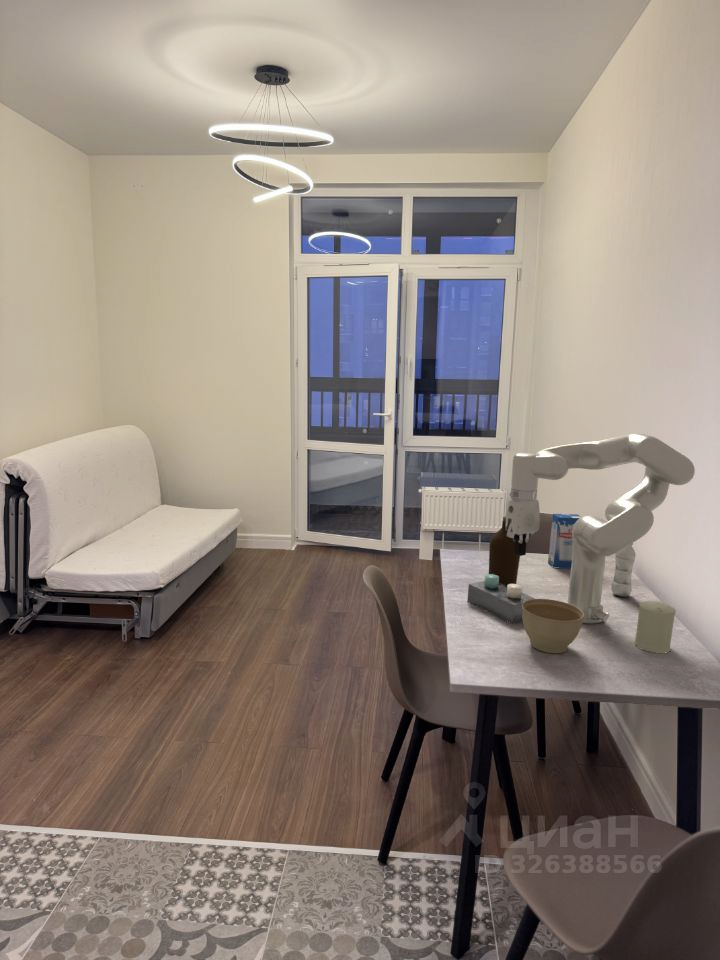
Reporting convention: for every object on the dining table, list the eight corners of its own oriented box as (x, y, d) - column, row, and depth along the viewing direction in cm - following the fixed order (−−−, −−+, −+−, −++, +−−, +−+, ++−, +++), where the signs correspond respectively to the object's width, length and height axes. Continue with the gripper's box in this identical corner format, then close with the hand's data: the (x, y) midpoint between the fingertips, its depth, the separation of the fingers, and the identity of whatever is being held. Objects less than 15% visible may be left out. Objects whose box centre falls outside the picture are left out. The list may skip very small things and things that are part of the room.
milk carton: (572, 563, 254) (577, 514, 251) (578, 568, 248) (584, 518, 245) (547, 563, 254) (552, 513, 250) (553, 567, 247) (558, 517, 244)
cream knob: (522, 615, 197) (525, 587, 195) (512, 618, 194) (514, 589, 193) (512, 610, 200) (514, 583, 199) (501, 612, 198) (504, 585, 196)
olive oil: (493, 593, 216) (499, 521, 211) (481, 583, 226) (487, 513, 222) (522, 592, 218) (529, 521, 214) (509, 582, 228) (515, 513, 224)
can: (639, 651, 176) (645, 610, 173) (630, 638, 185) (635, 598, 182) (675, 655, 174) (681, 613, 172) (664, 641, 183) (669, 601, 181)
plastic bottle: (615, 598, 217) (622, 541, 213) (607, 591, 223) (613, 535, 220) (634, 599, 217) (641, 541, 213) (625, 592, 223) (632, 536, 220)
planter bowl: (573, 665, 165) (577, 625, 164) (511, 649, 173) (515, 611, 171) (584, 643, 179) (589, 606, 177) (527, 629, 187) (530, 594, 185)
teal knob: (499, 604, 205) (502, 577, 203) (489, 606, 203) (491, 579, 201) (490, 600, 209) (492, 573, 207) (479, 602, 206) (482, 575, 205)
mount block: (535, 618, 196) (537, 599, 195) (512, 624, 191) (513, 604, 190) (490, 597, 212) (491, 579, 211) (467, 601, 207) (468, 583, 206)
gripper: (514, 499, 184) (510, 561, 187) (551, 494, 191) (546, 554, 195) (496, 494, 190) (492, 554, 193) (532, 490, 198) (528, 548, 201)
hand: (519, 554), depth 194 cm, fingers closed
